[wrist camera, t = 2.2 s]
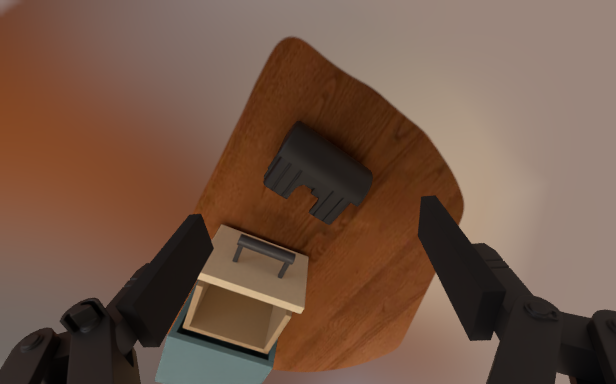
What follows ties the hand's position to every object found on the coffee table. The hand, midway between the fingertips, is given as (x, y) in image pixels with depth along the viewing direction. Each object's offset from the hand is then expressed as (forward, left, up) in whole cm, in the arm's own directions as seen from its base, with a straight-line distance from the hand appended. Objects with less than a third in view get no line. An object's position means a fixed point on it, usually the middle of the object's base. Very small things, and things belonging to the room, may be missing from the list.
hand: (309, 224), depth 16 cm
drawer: (+13, +16, -17) cm, 26 cm away
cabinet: (+21, +28, -17) cm, 39 cm away
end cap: (0, +3, -18) cm, 18 cm away
